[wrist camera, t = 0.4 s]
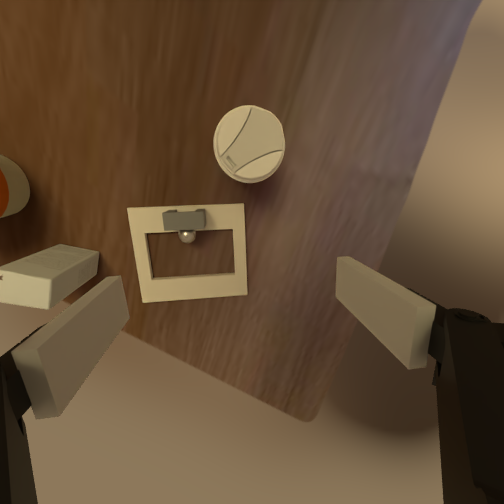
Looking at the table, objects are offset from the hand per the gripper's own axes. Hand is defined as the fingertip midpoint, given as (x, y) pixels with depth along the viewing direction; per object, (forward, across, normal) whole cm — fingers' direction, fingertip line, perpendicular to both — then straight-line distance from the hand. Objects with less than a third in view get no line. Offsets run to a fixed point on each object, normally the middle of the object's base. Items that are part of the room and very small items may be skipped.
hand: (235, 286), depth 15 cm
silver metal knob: (+25, -6, 0) cm, 25 cm away
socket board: (+27, -6, -5) cm, 28 cm away
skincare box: (+27, -24, -4) cm, 37 cm away
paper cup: (+27, +3, +10) cm, 29 cm away
